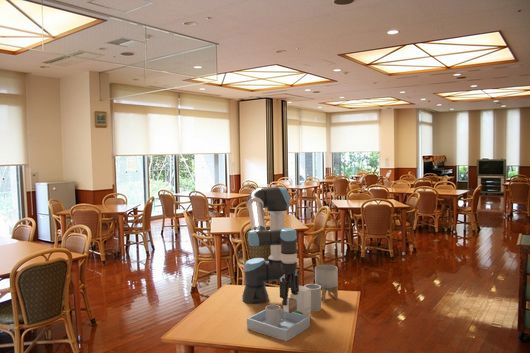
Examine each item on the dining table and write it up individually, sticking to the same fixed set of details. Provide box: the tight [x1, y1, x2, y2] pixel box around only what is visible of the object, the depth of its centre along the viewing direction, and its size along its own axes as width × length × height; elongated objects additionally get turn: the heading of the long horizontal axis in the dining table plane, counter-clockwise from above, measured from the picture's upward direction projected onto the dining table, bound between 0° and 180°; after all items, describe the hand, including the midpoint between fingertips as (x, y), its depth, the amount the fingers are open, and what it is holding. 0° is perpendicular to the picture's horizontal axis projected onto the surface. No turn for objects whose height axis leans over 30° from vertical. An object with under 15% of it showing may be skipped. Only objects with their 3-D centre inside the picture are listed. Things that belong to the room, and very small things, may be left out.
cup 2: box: [304, 283, 322, 312], centre depth 234 cm, size 9×9×12 cm
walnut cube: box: [281, 297, 297, 313], centre depth 205 cm, size 5×5×5 cm
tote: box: [246, 308, 311, 342], centre depth 210 cm, size 20×24×5 cm
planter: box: [314, 264, 339, 302], centre depth 249 cm, size 13×13×18 cm
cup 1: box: [265, 304, 286, 327], centre depth 211 cm, size 7×10×9 cm
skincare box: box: [294, 285, 312, 318], centre depth 222 cm, size 8×7×16 cm
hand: (289, 309), depth 205 cm, fingers closed on walnut cube, 5 cm apart
